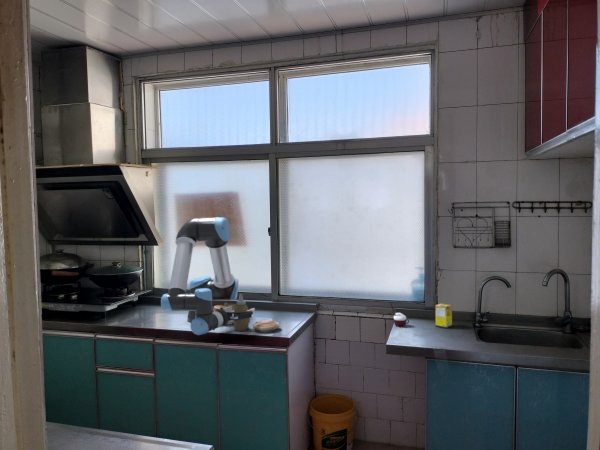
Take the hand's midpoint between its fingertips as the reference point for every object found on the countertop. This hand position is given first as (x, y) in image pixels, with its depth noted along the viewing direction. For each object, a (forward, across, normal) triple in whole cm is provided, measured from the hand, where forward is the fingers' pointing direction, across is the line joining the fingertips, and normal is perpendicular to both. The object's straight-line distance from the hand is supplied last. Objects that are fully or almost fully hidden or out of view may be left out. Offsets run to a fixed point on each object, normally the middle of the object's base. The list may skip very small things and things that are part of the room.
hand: (242, 309), depth 229 cm
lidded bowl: (+7, -15, -10) cm, 20 cm away
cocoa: (+35, +71, -10) cm, 80 cm away
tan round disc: (+3, +12, -10) cm, 16 cm away
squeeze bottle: (-1, 0, -10) cm, 10 cm away
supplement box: (+42, +92, -10) cm, 101 cm away
